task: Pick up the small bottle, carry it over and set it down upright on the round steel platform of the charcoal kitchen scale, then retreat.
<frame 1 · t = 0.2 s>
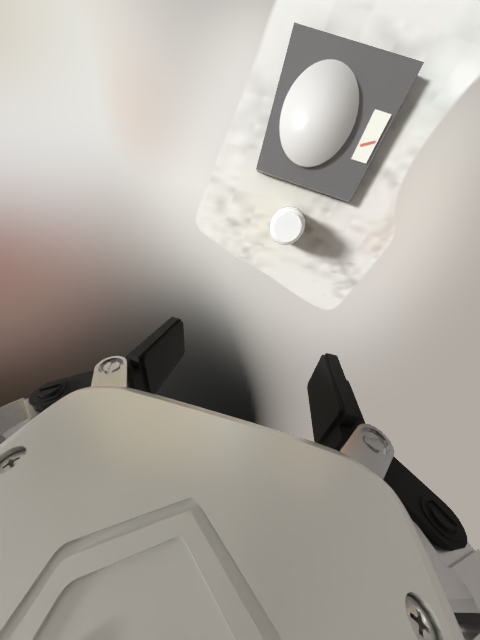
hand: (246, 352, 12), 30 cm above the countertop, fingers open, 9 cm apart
supplement bottle: (286, 224, 34), on the countertop
scale: (323, 130, 26), on the countertop
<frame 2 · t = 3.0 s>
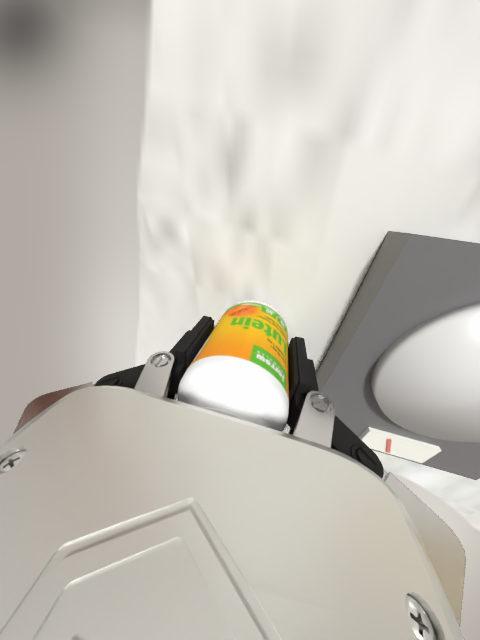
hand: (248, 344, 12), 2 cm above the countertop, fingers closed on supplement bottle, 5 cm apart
supplement bottle: (253, 328, 14), on the countertop, touching gripper
scale: (430, 370, 13), on the countertop
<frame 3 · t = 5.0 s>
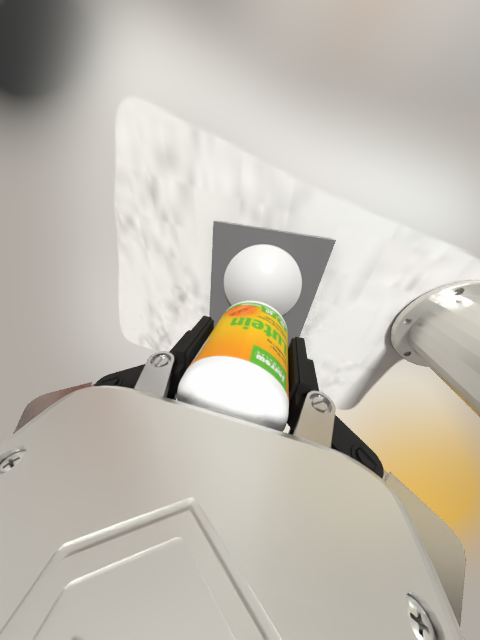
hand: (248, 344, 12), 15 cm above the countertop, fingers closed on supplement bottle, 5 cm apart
supplement bottle: (253, 328, 14), point 13 cm above the countertop, touching gripper
scale: (260, 290, 26), on the countertop
when the fingers open (6 cm above the countertop, at t = 7.2 s): supplement bottle drops 1 cm, resting on scale.
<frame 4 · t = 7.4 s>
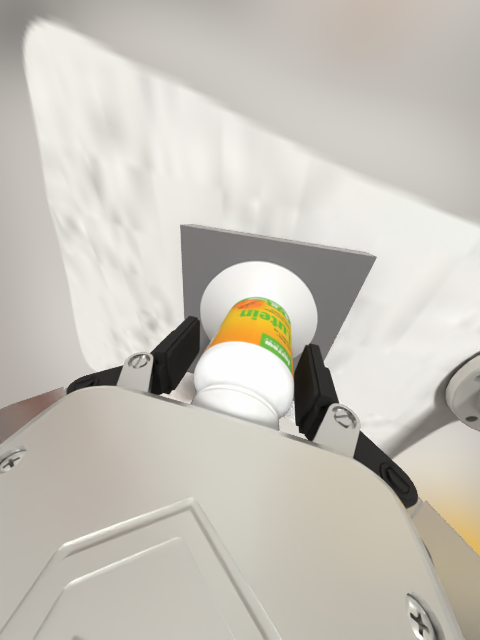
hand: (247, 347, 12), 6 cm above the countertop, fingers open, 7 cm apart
supplement bottle: (258, 322, 15), point 3 cm above the countertop, touching scale
scale: (256, 321, 18), on the countertop
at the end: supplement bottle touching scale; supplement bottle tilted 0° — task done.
